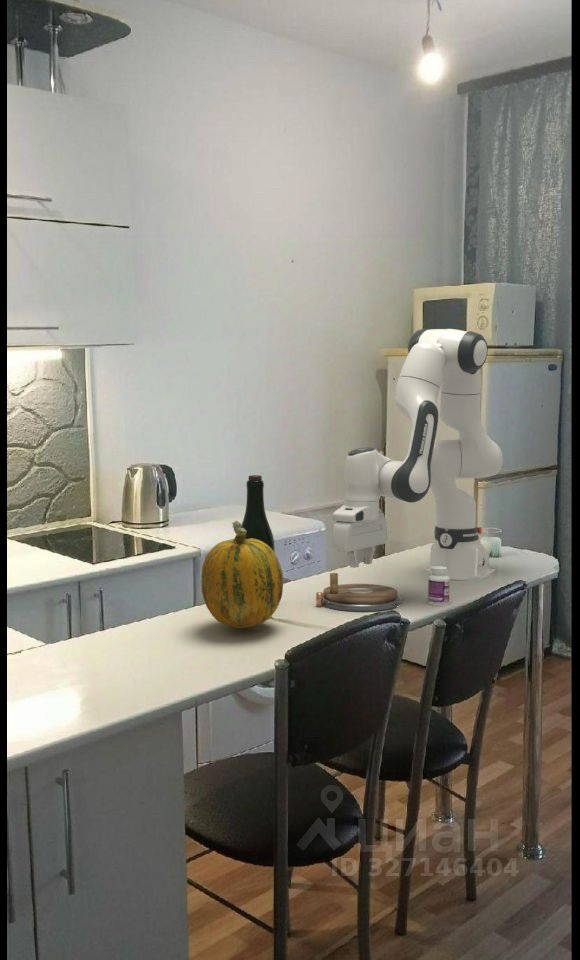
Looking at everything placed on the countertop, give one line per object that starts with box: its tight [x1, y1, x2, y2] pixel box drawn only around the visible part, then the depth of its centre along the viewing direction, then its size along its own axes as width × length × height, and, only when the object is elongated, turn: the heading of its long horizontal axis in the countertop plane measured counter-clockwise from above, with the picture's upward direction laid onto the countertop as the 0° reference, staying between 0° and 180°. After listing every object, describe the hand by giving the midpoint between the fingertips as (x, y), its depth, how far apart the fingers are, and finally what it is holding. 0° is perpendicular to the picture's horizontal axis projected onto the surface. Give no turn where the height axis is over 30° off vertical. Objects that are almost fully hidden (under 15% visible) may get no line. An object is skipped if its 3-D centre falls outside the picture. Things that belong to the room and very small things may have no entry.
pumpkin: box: [200, 520, 284, 629], centre depth 214 cm, size 19×19×25 cm
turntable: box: [322, 572, 399, 605], centre depth 238 cm, size 19×19×6 cm
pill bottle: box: [427, 566, 451, 607], centre depth 235 cm, size 5×5×10 cm
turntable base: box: [315, 591, 403, 613], centre depth 238 cm, size 21×21×4 cm
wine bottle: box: [241, 474, 276, 554], centre depth 235 cm, size 10×10×33 cm
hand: (361, 565), depth 237 cm, fingers open, 5 cm apart
